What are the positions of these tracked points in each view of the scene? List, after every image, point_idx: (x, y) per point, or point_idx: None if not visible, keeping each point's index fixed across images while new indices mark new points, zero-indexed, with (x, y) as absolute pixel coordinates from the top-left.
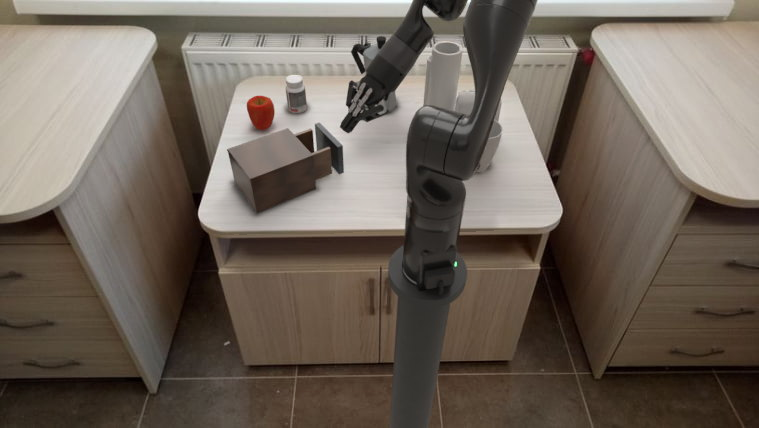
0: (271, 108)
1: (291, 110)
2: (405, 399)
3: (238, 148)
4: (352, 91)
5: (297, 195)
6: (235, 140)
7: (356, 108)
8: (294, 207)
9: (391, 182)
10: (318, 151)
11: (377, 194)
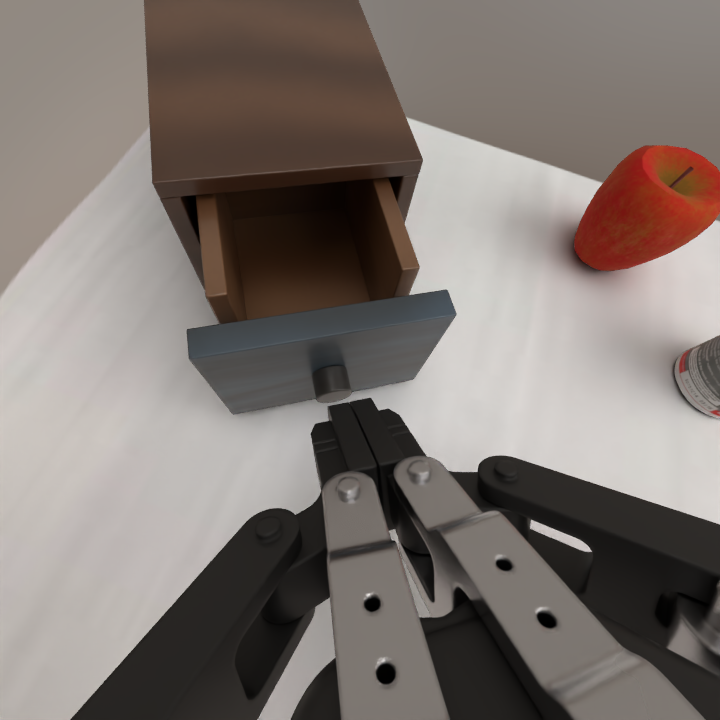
0: (643, 217)
1: (685, 351)
2: None
3: (343, 7)
4: (656, 558)
5: None
6: (535, 178)
7: (383, 519)
8: (164, 228)
9: (81, 619)
10: (210, 239)
11: (47, 515)
